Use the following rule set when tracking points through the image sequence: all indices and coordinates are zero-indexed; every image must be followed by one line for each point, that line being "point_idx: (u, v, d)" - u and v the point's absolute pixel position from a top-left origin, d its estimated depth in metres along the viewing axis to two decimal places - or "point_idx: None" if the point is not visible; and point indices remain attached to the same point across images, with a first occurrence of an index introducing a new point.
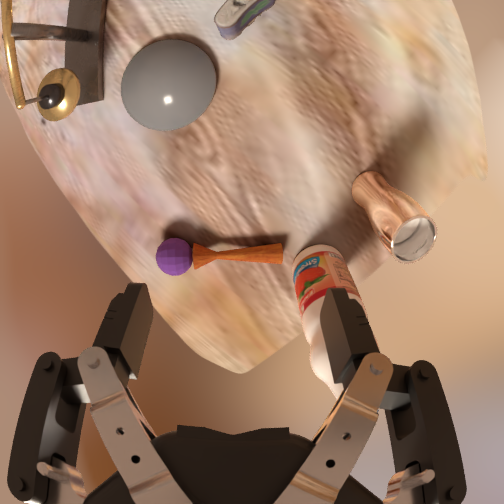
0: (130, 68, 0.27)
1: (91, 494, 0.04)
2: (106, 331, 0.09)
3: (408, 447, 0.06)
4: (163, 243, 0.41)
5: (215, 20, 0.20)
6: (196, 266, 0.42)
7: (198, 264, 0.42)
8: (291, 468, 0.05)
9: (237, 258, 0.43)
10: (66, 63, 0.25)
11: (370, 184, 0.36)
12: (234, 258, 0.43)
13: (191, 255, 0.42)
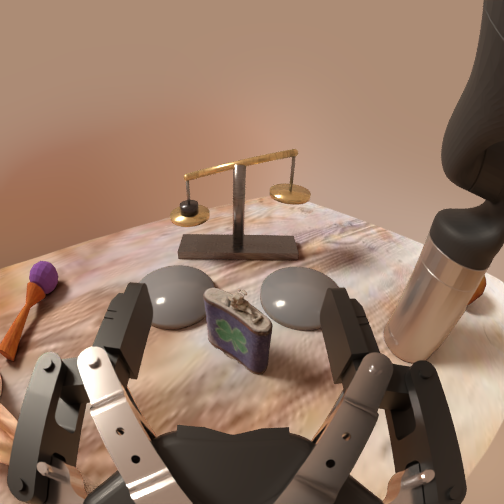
0: (196, 271, 0.46)
1: (91, 494, 0.04)
2: (106, 331, 0.09)
3: (408, 447, 0.06)
4: (56, 272, 0.40)
5: (211, 288, 0.32)
6: (28, 284, 0.35)
7: (28, 285, 0.35)
8: (291, 468, 0.05)
9: (18, 317, 0.31)
10: (218, 235, 0.54)
11: None
12: (19, 315, 0.31)
13: None
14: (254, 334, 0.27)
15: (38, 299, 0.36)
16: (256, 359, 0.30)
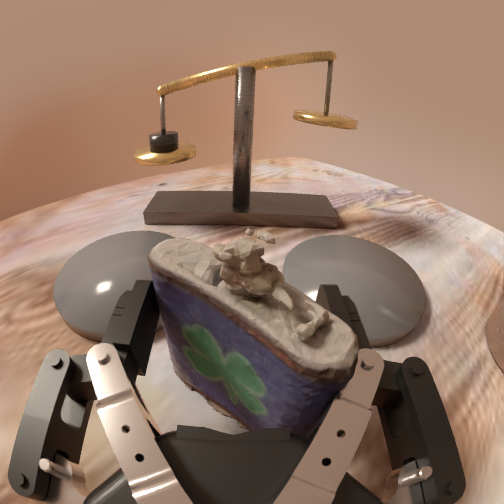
0: (166, 239, 0.26)
1: (91, 494, 0.04)
2: (114, 328, 0.09)
3: (403, 444, 0.06)
4: None
5: (174, 239, 0.12)
6: None
7: None
8: (287, 468, 0.05)
9: None
10: (211, 191, 0.34)
11: None
12: None
13: None
14: (303, 379, 0.07)
15: None
16: (290, 432, 0.10)
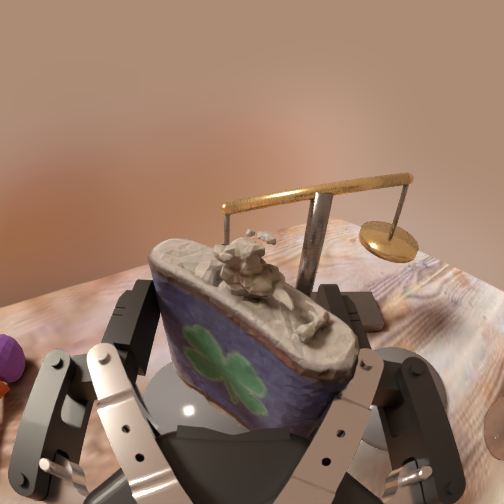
0: None
1: (91, 494, 0.04)
2: (115, 328, 0.09)
3: (403, 444, 0.06)
4: (20, 354, 0.22)
5: (174, 239, 0.12)
6: None
7: None
8: (287, 468, 0.05)
9: None
10: None
11: None
12: None
13: None
14: (303, 380, 0.07)
15: (0, 395, 0.17)
16: None
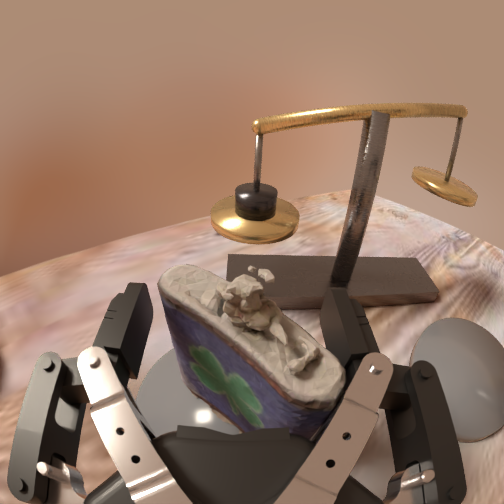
0: None
1: (91, 494, 0.04)
2: (106, 331, 0.09)
3: (408, 447, 0.06)
4: None
5: (182, 265, 0.13)
6: None
7: None
8: (291, 468, 0.05)
9: None
10: (299, 257, 0.28)
11: None
12: None
13: None
14: (292, 407, 0.08)
15: None
16: None
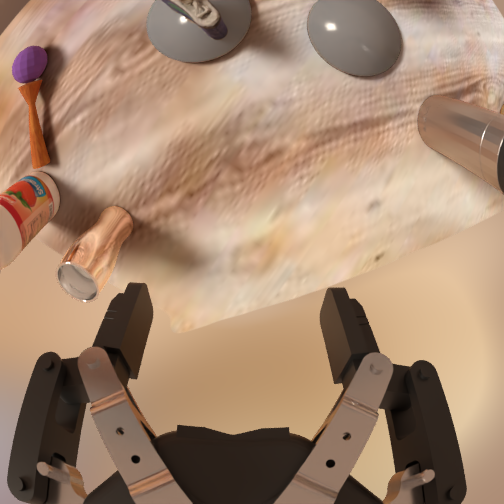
0: None
1: (91, 494, 0.04)
2: (106, 331, 0.09)
3: (408, 447, 0.06)
4: (41, 51, 0.21)
5: None
6: (20, 89, 0.22)
7: (21, 90, 0.23)
8: (291, 468, 0.05)
9: (30, 125, 0.27)
10: None
11: (117, 223, 0.37)
12: (30, 122, 0.27)
13: (30, 81, 0.23)
14: (200, 26, 0.19)
15: (38, 90, 0.25)
16: (210, 35, 0.22)
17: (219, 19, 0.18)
